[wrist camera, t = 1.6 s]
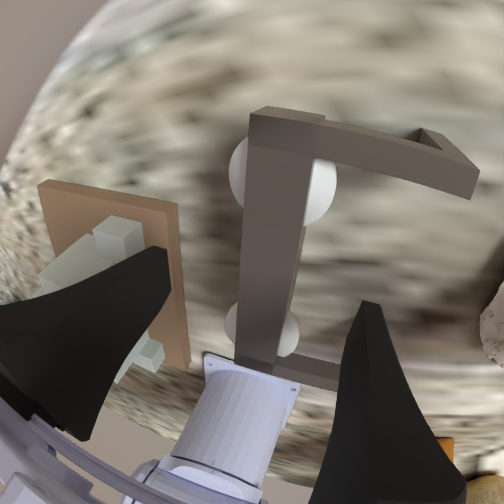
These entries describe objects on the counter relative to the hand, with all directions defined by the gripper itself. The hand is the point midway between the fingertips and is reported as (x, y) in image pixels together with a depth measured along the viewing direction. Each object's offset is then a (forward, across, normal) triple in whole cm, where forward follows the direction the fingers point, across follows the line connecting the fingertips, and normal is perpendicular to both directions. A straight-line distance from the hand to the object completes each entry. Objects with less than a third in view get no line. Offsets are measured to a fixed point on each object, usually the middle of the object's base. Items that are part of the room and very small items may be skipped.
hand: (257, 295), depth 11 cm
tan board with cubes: (+6, +12, +8) cm, 16 cm away
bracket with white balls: (+6, -2, 0) cm, 6 cm away
